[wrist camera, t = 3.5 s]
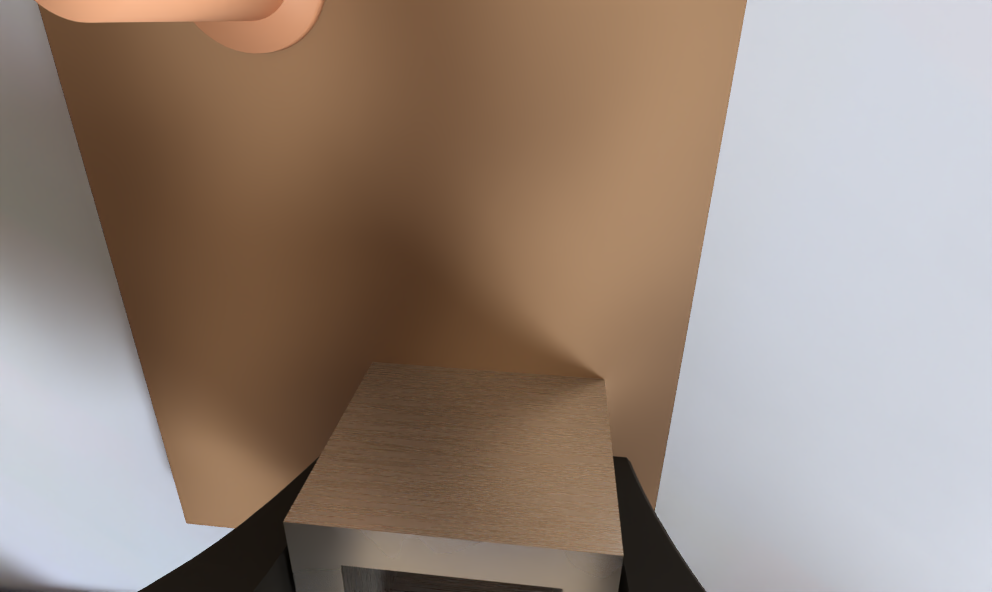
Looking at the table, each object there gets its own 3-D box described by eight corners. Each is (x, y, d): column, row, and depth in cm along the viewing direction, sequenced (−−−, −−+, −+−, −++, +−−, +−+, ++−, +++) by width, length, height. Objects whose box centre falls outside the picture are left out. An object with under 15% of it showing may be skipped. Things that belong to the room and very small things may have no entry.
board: (207, 495, 17) (186, 523, 16) (-28, -414, 9) (-96, -463, 8) (639, 537, 15) (644, 569, 15) (808, -456, 8) (839, -517, 7)
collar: (386, 529, 15) (320, 719, 11) (372, 362, 13) (283, 522, 9) (584, 549, 14) (591, 755, 10) (604, 379, 12) (623, 555, 8)
